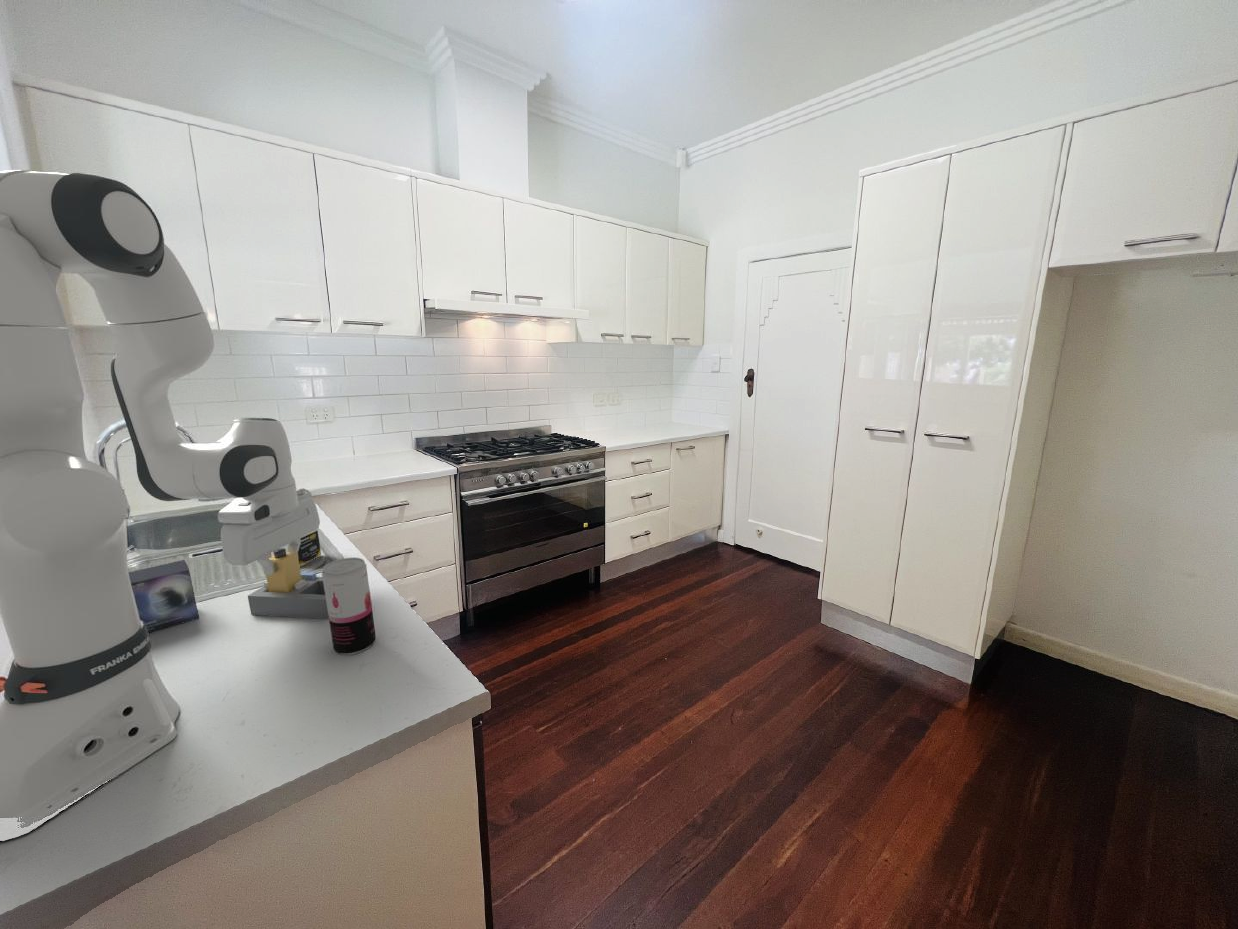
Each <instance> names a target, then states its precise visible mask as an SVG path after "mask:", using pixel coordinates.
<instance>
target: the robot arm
mask: <svg viewBox="0 0 1238 929" xmlns="http://www.w3.org/2000/svg"><path fill="white" fill-rule="evenodd" d="M61 274H69V275H70V274H71V275H73V274H77V275H78V276H80V277H81V278H82V279H83V280H85V281H86V282H87V283H88V284H89V285H90V287H91V288H92V289H93V290H94V293H95V296H96V299H97V301H98V304H99V307H100V309H101V311H102V313H103V316H104V318H105V321H106V322H107V324H108V326H109V329H110V331H111V334H112V336H113V341H114V345H115V356H113V358H112V360H111V363H110V375H111V381H112V385H113V387H114V392H115V394H116V395H115V396H116V399H117V401H118V404H119V408H120V409H121V413H122V416H123V420H124V423H125V425H126V427H127V431H128V433H129V437H130V440H131V442H132V446H133V450H134V454H135V464H136V474H137V478H138V481H139V483H140V485H141V487H142V488H143V489H144V490H145V491H146V493H147V494H149V495H150V496H151V497H152V498H155V499H156V500H160V501H163V502H175V501H176V502H178V501H190V500H198V499H219V500H223V499H224V500H225V499H226V500H227V499H233V500H232V501H230V503H228V504H227V505H226V506H224V508H222V509H221V510H219V512H218V513H217V520H218V522H219V523H221V524H224V525H222V527H221V530H220V542H221V548H222V553H223V557H224V560H225V561H226V563H228V564H229V565H231V566H247V565H249V564H252V563H253V562H258V564H260V566H261V567H262V568H263V573H264V575H265V576H266V575H272V574H274V573H275V572H277V571H278V568H277V567H278V566H277V563H272V562H271V560H270V559H269V558H271V557H272V552H273V551H275V550H277V549H279V548H281V547H283V546H285V545H287V544H289V545H288V551H287V552H297V554H298V550H299V547H300V544H301V540H300V538H301V537H303V536H305V535H307V534H309V533H311V532H312V531H314V530H316V529H317V530H319V527H320V523H321V520H320V515H319V512H318V508H317V505H316V502H315V500H314V499H313V496H312V492H311V491H309V490H308V489H306V488H300V489H298V490H297V485H296V479H295V477H294V476H293V474H292V469H291V468H292V461H293V460H292V456H291V455H292V454H291V449H290V444H289V440H288V436H287V432H286V431H285V428H284V426H283V424H282V422H281V421H279V420H277V419H275V418H271V417H240V418H239V417H238V418H235V419H233V420H232V421H231V423H230V426H231V427H230V430H229V431H228V432H227V433H226V434H225V435H224V436H223V437H222V438H220V439H219V440H217V441H216V442H210V443H209V442H200V443H199V442H198V443H197V442H194V443H193V442H190V441H187V440H185V439H184V438H182V437H181V435H179V432H178V428H177V425H176V421H175V417H174V415H173V411H172V407H171V405H170V401H169V396H168V394H169V393H168V392H169V388H170V386H171V385H172V383H173V382H175V381H177V380H179V379H180V378H183V377H185V376H187V375H189V374H192V373H193V372H195V371H197V370H198V369H200V368H201V367H202V366H203V365H205V364H206V363H207V361H208V360H209V359H210V357H211V355H212V353H213V351H214V348H215V342H214V335H213V330H212V327H211V324H210V322H209V319H208V317H207V315H206V313H205V311H204V308H203V306H202V304H201V300H200V298H199V296H198V294H197V292H196V290H195V288H194V286H193V284H192V283H191V281H190V278H189V277H188V274H187V273H186V271H185V270H184V268H183V266H182V265H181V262H179V259H177V257H176V255H175V254H174V252H173V251H172V250H171V248H169V247H168V246H167V245H166V243H165V238H164V233H163V229H162V225H161V223H160V221H159V219H158V217H157V216H156V213H155V212H154V210H153V209H152V208H151V207H150V206H149V204H148V203H147V202H146V201H145V200H144V199H143V197H141V196H140V194H138V193H137V192H136V191H135V190H134V189H133V188H131V187H130V186H128V185H127V184H125V183H123V182H121V181H119V180H117V179H113V178H109V177H107V176H102V175H97V174H91V173H87V172H73V173H60V172H44V171H34V170H29V169H16V170H15V169H13V170H2V171H0V617H1V621H2V623H3V627H4V630H5V632H6V636H7V639H8V641H9V645H10V649H11V651H12V654H13V657H14V659H13V660H12V662H11V664H10V668H9V671H8V674H7V678H6V677H5V676H0V693H1V692H3V691H4V693H3V697H4V698H3V699H2V701H1V702H0V818H14V817H15V818H18V820H17V822H21V823H22V822H24V823H25V824H24V823H22V824H23V825H22V824H20V825H21V826H20V827H21V828H24V827H28V826H30V825H31V824H33V822H34V823H35V822H37V821H40V820H42V819H43V818H45V817H47V816H50V815H52V814H53V813H55V812H56V811H58V809H61V808H63V807H64V806H66V805H68V804H69V803H72V802H74V800H77V799H78V798H79V797H82V796H84V795H85V794H86V793H88V792H89V791H91V790H93V789H95V788H96V787H98V786H99V785H102V784H103V783H105V782H106V781H108V780H110V779H112V780H113V779H115V778H117V777H118V776H119V774H120V773H121V774H123V773H124V772H126V771H127V770H128V769H130V768H132V767H133V766H135V765H137V764H138V763H140V762H141V761H143V760H144V759H145V758H146V759H147V757H149V756H150V755H152V754H153V753H154V752H157V751H158V750H159V749H161V748H162V747H164V746H165V745H167V744H169V743H170V742H172V741H173V740H174V739H175V738H176V737H177V736H178V735H177V734H178V732H177V729H176V726H175V722H176V720H177V718H178V716H179V713H180V706H179V703H178V702H177V701H176V700H175V699H174V697H173V696H172V695H171V694H170V693H169V691H168V689H167V688H166V685H165V684H164V682H163V681H162V679H161V676H160V674H159V673H158V670H157V669H156V666H155V662H154V661H153V659H152V656H151V649H152V642H151V638H150V635H149V633H148V630H147V627H146V624H145V622H144V621H142V620H140V618H139V614H138V609H137V605H136V601H135V597H134V593H133V590H132V586H131V582H130V577H129V572H130V571H129V566H128V531H127V530H128V529H127V520H126V517H127V514H128V507H129V506H128V504H129V503H128V498H127V495H126V493H125V491H124V488H123V487H122V485H121V484H120V482H119V481H118V480H117V478H116V477H115V476H114V474H112V473H111V472H110V471H109V470H108V469H106V468H104V467H103V466H101V465H100V464H97V463H95V462H93V461H91V460H89V459H88V458H87V455H86V452H85V445H84V432H83V403H84V400H85V399H84V398H85V396H84V395H85V393H84V390H83V389H84V388H83V385H82V381H81V376H80V373H79V369H78V364H77V360H76V356H75V352H74V348H73V345H72V340H71V336H70V331H69V329H68V322H67V320H66V316H65V313H64V312H65V311H64V309H63V306H62V304H61V302H60V297H59V295H58V293H57V284H58V280H59V277H60V275H61ZM298 559H299V558H298ZM121 774H120V775H121ZM117 775H118V776H117ZM110 781H111V780H110ZM19 817H20V821H19ZM21 817H22V818H21ZM18 826H19V825H18ZM18 828H19V827H18Z"/></svg>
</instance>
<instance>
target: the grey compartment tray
mask: <svg viewBox="0 0 1238 929" xmlns="http://www.w3.org/2000/svg"><path fill="white" fill-rule="evenodd" d="M300 572H301V578H302V580H301V581H299V582H297V583H296V584H295V589H294V590H292V591H290V592H289V593H278V592H269V589H268V584H267V580H266V581H264V582H263V585H264V586H262V587H259V588H258V589H257V590H255V591H253V592H252V593H250V594H248V595H247V600H248V605H249V610H250V615H251V614H254V616H269V615H274V616H273V617H286V616H288V618H289V617H290V618H303V619H304V618H306V619H307V618H309V619H324V620H326V619H327V620H329V616H328V609H327V603H326V596H325V590H324V584H323V577H322V576H317V573H316V572H307V571H305V572H304V571H300ZM256 614H257V615H256ZM258 614H259V615H258ZM276 615H277V616H276Z"/></svg>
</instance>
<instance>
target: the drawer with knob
mask: <svg viewBox="0 0 1238 929" xmlns="http://www.w3.org/2000/svg"><path fill="white" fill-rule="evenodd" d="M273 552H274V554H273V555H272V554H271V556H272V557H271V558H269V559H270V560H271V562H272V563H277V566H278V567H277V568H278V571H277V572H275V573H274V574H272V575H266V574H265V577H266V578H265V579H266V581H267V584H268V589H269V592H278V593H289V592H290V591H292V590H294V589H295V584H296V583H297V582H299V581H301V580H302V578H301V572H302V571H301V566H299V560H298V554H297V552H286V549H284V548H281V549H277V550H275V551H273Z"/></svg>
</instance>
